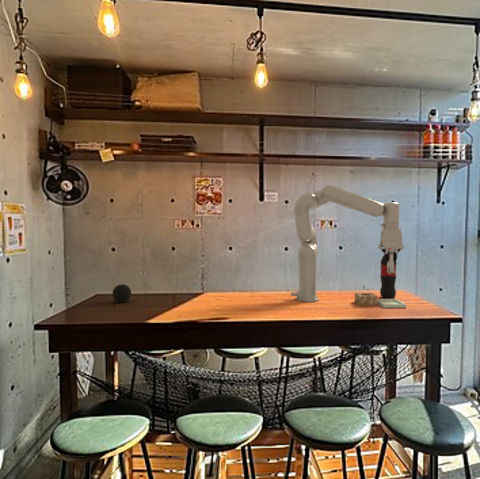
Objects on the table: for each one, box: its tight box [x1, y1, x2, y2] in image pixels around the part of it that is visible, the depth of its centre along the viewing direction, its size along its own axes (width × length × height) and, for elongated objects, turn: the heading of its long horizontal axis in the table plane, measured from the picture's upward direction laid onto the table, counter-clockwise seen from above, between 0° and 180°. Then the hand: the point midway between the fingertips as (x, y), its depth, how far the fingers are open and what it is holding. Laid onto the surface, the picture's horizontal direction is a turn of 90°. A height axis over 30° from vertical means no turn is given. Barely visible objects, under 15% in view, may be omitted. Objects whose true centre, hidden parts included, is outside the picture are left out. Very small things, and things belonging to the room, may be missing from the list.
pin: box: [387, 249, 395, 273], centre depth 191 cm, size 5×5×12 cm
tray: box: [377, 298, 407, 309], centre depth 192 cm, size 11×12×2 cm
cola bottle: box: [379, 248, 397, 299], centre depth 209 cm, size 8×8×30 cm
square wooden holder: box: [354, 292, 378, 307], centre depth 196 cm, size 9×9×5 cm
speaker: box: [112, 284, 132, 303], centre depth 203 cm, size 10×10×10 cm
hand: (390, 260), depth 191 cm, fingers closed on pin, 3 cm apart
